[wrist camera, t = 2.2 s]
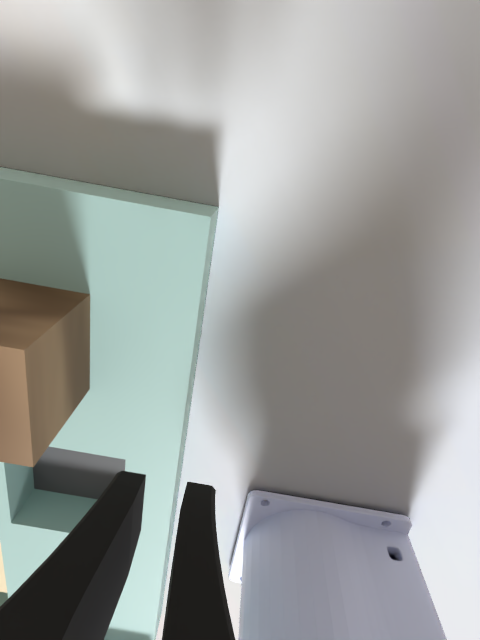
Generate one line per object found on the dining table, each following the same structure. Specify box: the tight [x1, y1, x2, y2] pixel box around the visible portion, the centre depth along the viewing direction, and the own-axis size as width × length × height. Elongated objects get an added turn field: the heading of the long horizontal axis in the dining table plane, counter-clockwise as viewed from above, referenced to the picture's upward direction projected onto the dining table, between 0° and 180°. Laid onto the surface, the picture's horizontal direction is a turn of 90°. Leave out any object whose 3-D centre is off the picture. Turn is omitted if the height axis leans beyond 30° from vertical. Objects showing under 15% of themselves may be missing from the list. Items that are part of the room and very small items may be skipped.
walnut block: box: [0, 278, 90, 467], centre depth 14 cm, size 4×4×4 cm
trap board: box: [0, 167, 219, 640], centre depth 20 cm, size 16×29×4 cm, turn 170°
